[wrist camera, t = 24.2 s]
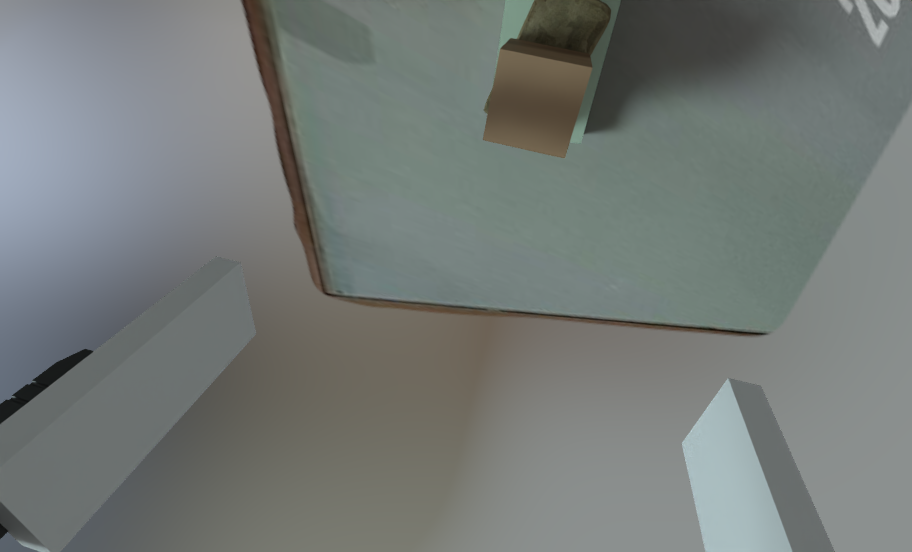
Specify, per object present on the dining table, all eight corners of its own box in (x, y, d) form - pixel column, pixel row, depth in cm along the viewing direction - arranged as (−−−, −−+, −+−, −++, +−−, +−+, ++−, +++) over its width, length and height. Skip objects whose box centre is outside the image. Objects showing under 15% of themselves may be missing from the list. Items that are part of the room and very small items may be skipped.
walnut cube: (510, 37, 33) (499, 48, 28) (589, 53, 32) (592, 67, 28) (494, 118, 36) (482, 140, 32) (566, 133, 36) (564, 158, 31)
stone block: (614, 4, 34) (618, 9, 30) (541, 135, 41) (537, 153, 37) (549, -31, 34) (545, -31, 30) (486, 107, 41) (476, 122, 37)
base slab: (513, -24, 37) (509, -24, 35) (620, -9, 36) (623, -8, 34) (491, 118, 44) (486, 126, 42) (580, 134, 43) (580, 144, 41)
